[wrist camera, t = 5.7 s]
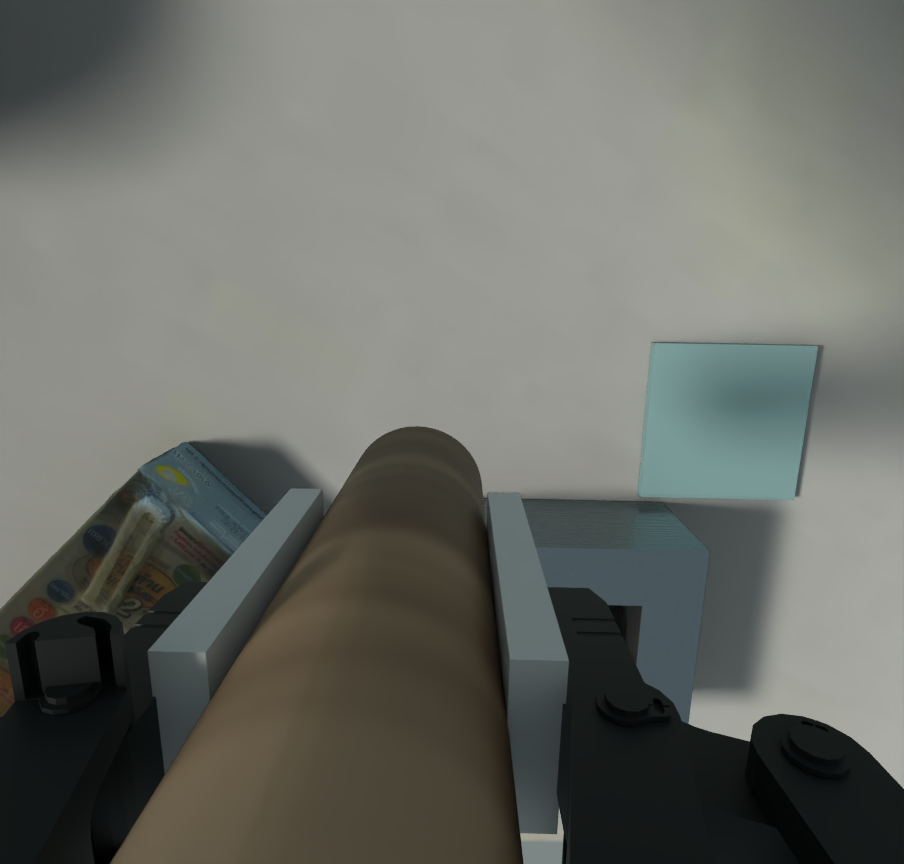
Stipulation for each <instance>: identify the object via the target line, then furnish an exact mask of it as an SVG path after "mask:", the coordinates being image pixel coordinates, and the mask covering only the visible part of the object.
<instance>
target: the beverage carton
mask: <svg viewBox="0 0 904 864" xmlns="http://www.w3.org/2000/svg"><path fill="white" fill-rule="evenodd" d="M266 516H267V515H266V514H265V513H263V512H262V511H261V510H260V509H259V508H258V507H257V506H256V505H255V504H253V503H252V502H251V501H250V500H249V499H248V498H247V497H246V496H244V495H243V494H242V493H241V492H240V491H239V490H238V489H237V488H236V487H235V486H234V485H233V484H232V483H231V482H230V481H229V480H228V479H226V478H225V477H224V476H223V475H222V474H221V473H220V472H219V471H218V470H217V469H216V468H215V467H214V466H213V465H212V464H211V463H209V462H208V461H207V460H206V458H205V457H204V456H203V455H202V454H200V453H199V452H198V451H197V450H196V449H195V448H194V447H192V446H191V445H190V444H189V443H187V442H184V443H181V444H180V445H179V446H177V447H175V448H172V449H170V450H169V451H167V452H165V453H163V454H162V455H160V456H158V457H156V458H154V459H152V460H151V461H149V462H148V463H146V464H145V465H143V466H141V467H140V468H139V469H138V471H137V472H136V473H135V474H134V475H133V476H132V477H131V478H130V479H129V480H128V481H127V482H126V483H125V484H124V485H123V486H122V487H121V488H119V489H118V490H117V491H116V492H114V493H113V494H112V495H111V496H110V498H109V499H108V500H107V501H106V502H105V504H103V505H102V506H101V507H100V508H99V509H98V510H97V511H96V512H95V513H94V514H93V515H92V516H91V517H90V518H89V519H88V520H87V521H86V522H85V523H84V524H83V525H82V527H81V528H80V529H79V530H78V531H77V532H76V533H75V534H74V535H73V536H72V537H71V538H70V539H69V540H68V541H67V542H66V543H65V544H64V545H63V546H62V547H61V548H60V549H59V550H58V551H57V552H56V553H55V554H54V555H53V556H52V557H51V558H50V559H49V560H48V561H47V562H46V563H45V564H44V565H43V566H42V567H41V568H40V569H39V570H38V571H37V572H36V573H35V574H34V575H33V576H32V577H31V578H30V579H29V580H28V581H27V582H26V583H25V584H24V585H23V586H22V587H21V588H20V589H19V590H18V591H17V592H16V593H15V594H14V596H13V597H12V598H11V599H10V600H9V601H8V602H7V603H6V604H5V605H4V606H3V607H2V608H1V609H0V717H3V716H4V714H5V713H6V712H7V711H8V709H9V708H10V707H11V706H12V704H13V703H14V702H15V699H14V693H13V688H12V682H11V677H10V671H9V665H8V660H7V654H6V648H5V643H6V642H8V641H9V640H10V639H11V638H13V637H14V636H15V635H17V634H18V633H19V632H21V631H23V630H25V629H27V628H29V627H31V626H33V625H35V624H38V623H40V622H42V621H46V620H49V619H52V618H55V617H59V616H62V615H67V614H73V613H80V612H105V613H108V614H111V615H115V616H117V617H118V618H119V620H120V621H121V622H122V624H123V630H124V635H125V634H126V632H127V631H128V630H129V629H130V628H134V627H135V623H136V622H137V621H138V620H139V619H140V618H141V617H142V616H143V615H144V614H148V610H149V609H150V608H151V607H152V606H153V605H154V604H155V603H156V602H157V601H158V600H159V599H160V598H161V597H162V596H163V595H164V594H166V593H168V592H170V591H172V590H173V589H175V588H177V587H179V586H181V585H183V584H184V583H186V582H188V581H195V582H209V581H210V580H211V578H212V577H213V576H214V575H215V574H216V573H217V572H218V570H219V569H220V568H221V567H222V566H223V565H224V564H225V563H226V561H227V560H228V559H229V558H230V557H231V556H232V555H233V553H234V552H235V551H236V550H237V549H238V548H239V547H240V546H241V544H242V543H243V542H244V541H245V540H246V539H247V538H248V536H249V535H250V534H251V533H252V532H253V531H254V530H255V528H256V527H257V526H258V525H259V524H260V523H261V522H262V521H263V519H264V518H265V517H266Z"/></svg>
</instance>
